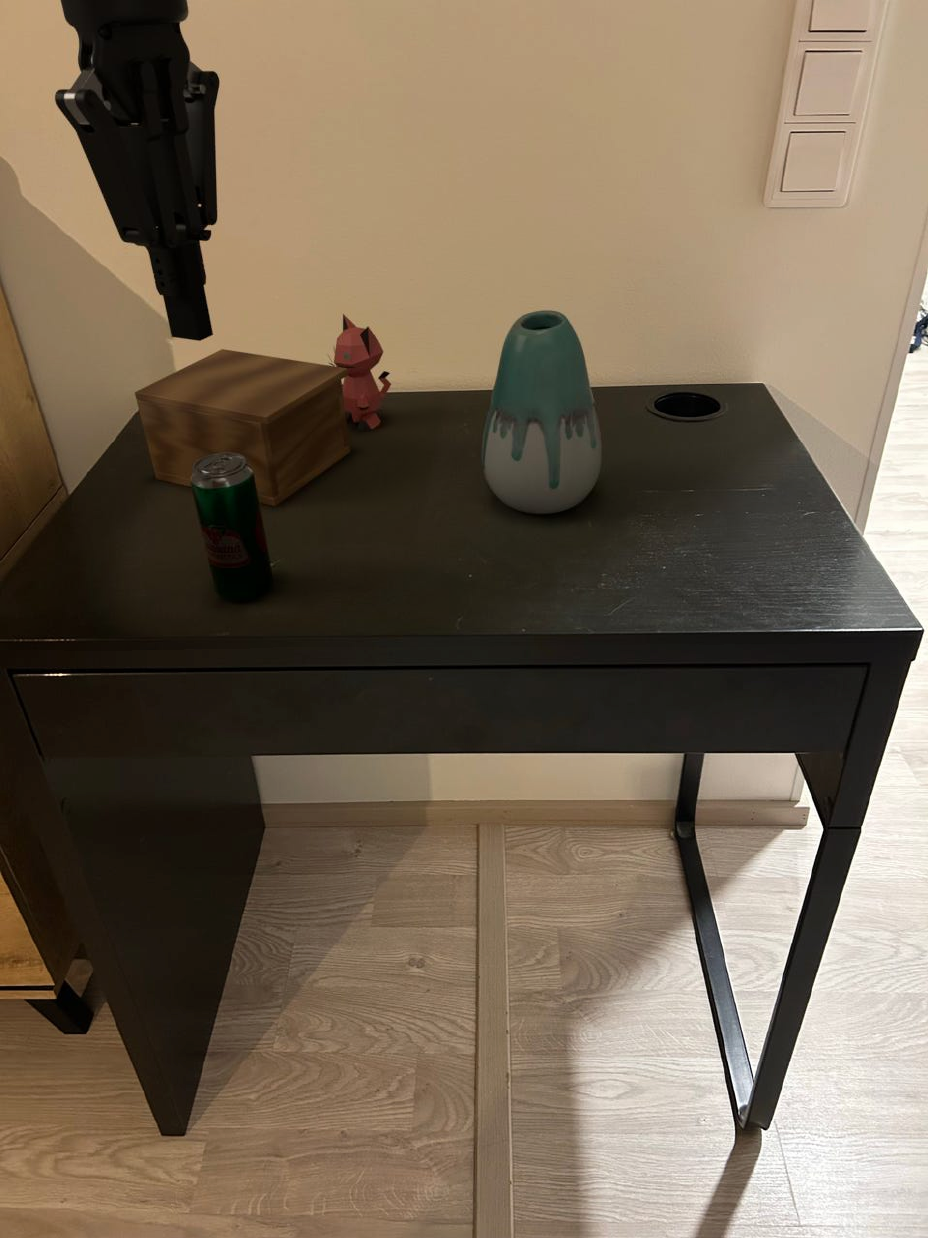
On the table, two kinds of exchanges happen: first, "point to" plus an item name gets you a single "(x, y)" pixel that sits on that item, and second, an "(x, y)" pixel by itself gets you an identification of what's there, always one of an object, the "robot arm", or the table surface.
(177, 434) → the chest
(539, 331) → the vase
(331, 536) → the table surface
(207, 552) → the soda can
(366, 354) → the cat figurine
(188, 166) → the robot arm
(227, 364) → the chest lid
